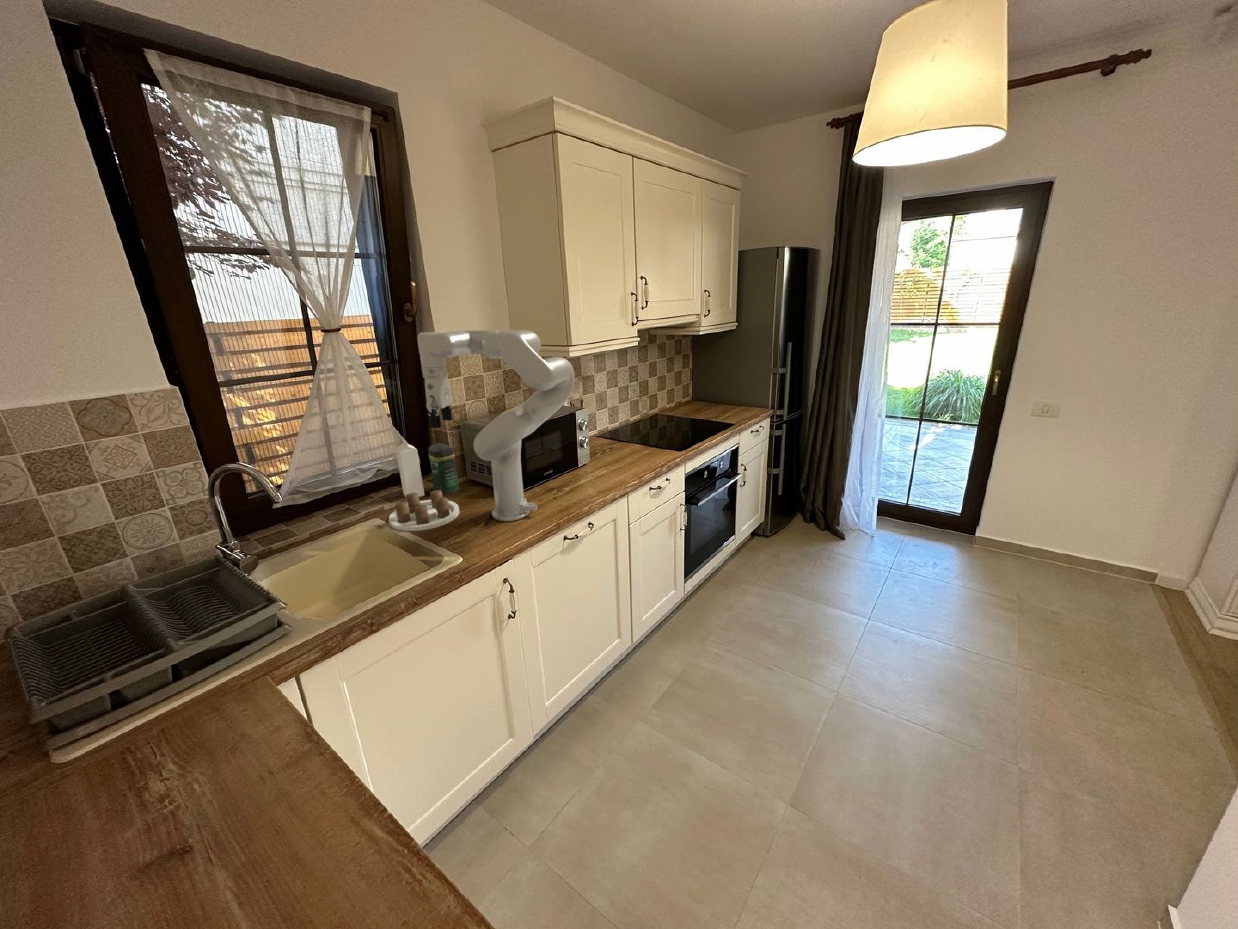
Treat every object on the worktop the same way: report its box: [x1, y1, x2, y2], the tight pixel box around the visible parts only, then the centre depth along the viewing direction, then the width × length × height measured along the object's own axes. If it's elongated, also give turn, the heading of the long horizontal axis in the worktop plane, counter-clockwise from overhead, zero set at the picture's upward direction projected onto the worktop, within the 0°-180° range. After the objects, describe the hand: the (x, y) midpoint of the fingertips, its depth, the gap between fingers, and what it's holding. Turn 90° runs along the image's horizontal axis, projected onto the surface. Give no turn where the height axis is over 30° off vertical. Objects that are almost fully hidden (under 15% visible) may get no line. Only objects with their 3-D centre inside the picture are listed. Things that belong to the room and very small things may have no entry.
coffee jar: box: [428, 443, 460, 495], centre depth 182 cm, size 10×8×19 cm
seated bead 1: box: [405, 493, 420, 513], centre depth 165 cm, size 4×4×6 cm
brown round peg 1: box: [394, 501, 411, 523], centre depth 158 cm, size 4×4×6 cm
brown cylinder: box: [429, 490, 444, 510], centre depth 167 cm, size 4×4×6 cm
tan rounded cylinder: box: [435, 496, 450, 518], centre depth 161 cm, size 4×4×6 cm
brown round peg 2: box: [414, 505, 429, 525], centre depth 155 cm, size 4×4×6 cm
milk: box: [395, 438, 425, 498], centre depth 176 cm, size 6×6×22 cm
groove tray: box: [388, 499, 460, 532], centre depth 162 cm, size 22×22×2 cm
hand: (442, 423), depth 161 cm, fingers open, 9 cm apart
